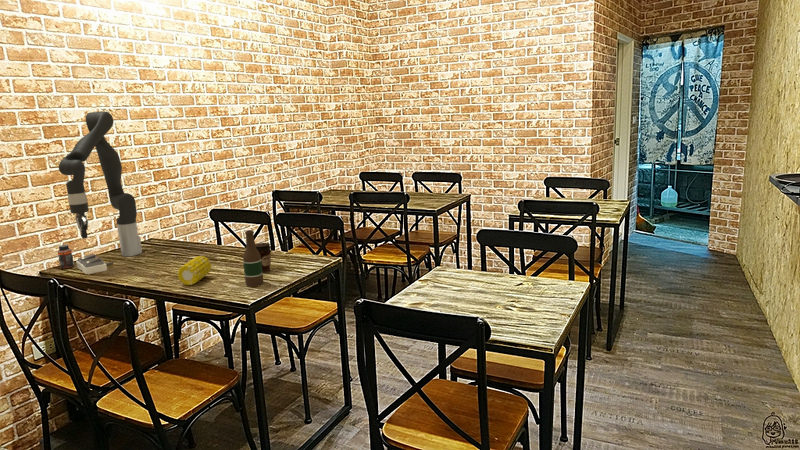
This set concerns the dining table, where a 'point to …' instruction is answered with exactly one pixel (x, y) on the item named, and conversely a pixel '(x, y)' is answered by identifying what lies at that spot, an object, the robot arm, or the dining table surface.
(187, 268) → the food
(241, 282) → the dining table surface
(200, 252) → the dining table surface
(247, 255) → the beer bottle
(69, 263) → the supplement bottle
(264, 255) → the coffee cup
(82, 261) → the rocker switch panel
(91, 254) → the rocker
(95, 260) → the rocker
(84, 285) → the dining table surface
